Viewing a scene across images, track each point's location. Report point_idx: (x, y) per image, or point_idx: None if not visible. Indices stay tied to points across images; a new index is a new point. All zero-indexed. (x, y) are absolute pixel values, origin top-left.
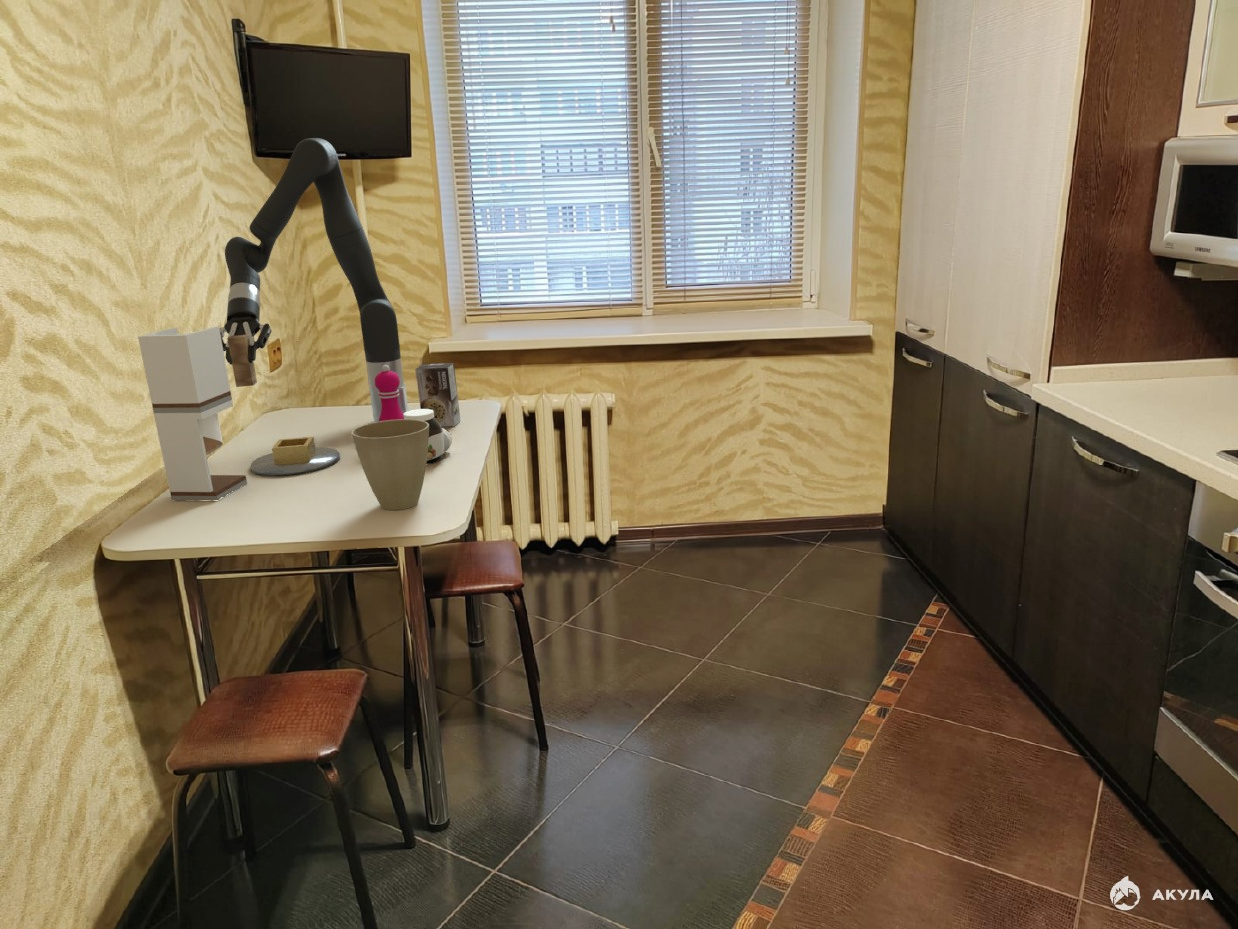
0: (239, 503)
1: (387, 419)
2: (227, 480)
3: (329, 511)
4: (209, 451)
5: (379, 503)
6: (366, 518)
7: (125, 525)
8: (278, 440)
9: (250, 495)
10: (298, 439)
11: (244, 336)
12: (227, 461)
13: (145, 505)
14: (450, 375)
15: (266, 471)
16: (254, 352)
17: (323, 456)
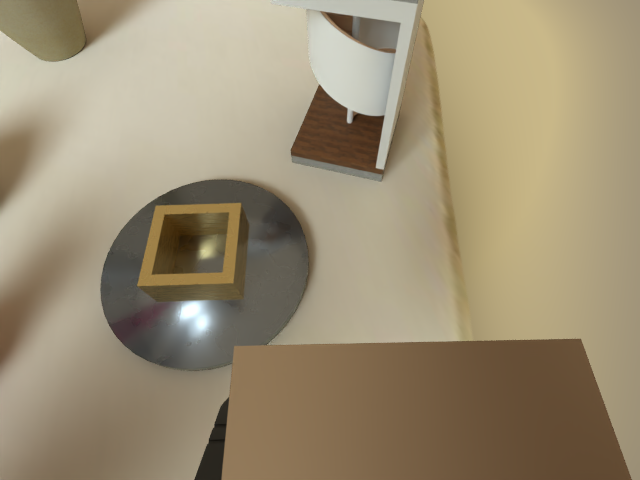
0: (281, 85)
1: None
2: (317, 130)
3: (152, 42)
4: (352, 106)
5: (84, 33)
6: (111, 19)
7: (419, 45)
8: (233, 273)
9: (272, 110)
10: (179, 274)
11: (243, 410)
12: (392, 335)
13: (435, 103)
14: None
15: (259, 187)
16: (207, 459)
17: (140, 261)
